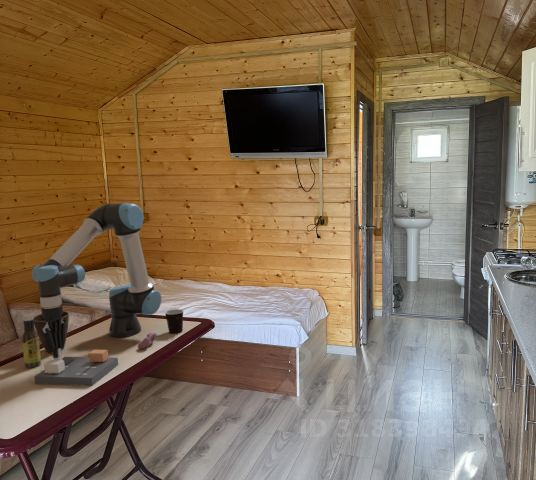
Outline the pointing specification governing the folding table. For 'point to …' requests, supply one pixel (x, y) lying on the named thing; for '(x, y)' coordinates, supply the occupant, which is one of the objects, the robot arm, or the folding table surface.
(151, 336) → the pink lumpy piece
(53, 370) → the block
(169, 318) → the coffee mug
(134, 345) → the folding table surface
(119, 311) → the robot arm
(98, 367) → the board
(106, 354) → the block
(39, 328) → the plant pot
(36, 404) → the folding table surface
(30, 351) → the sauce bottle
